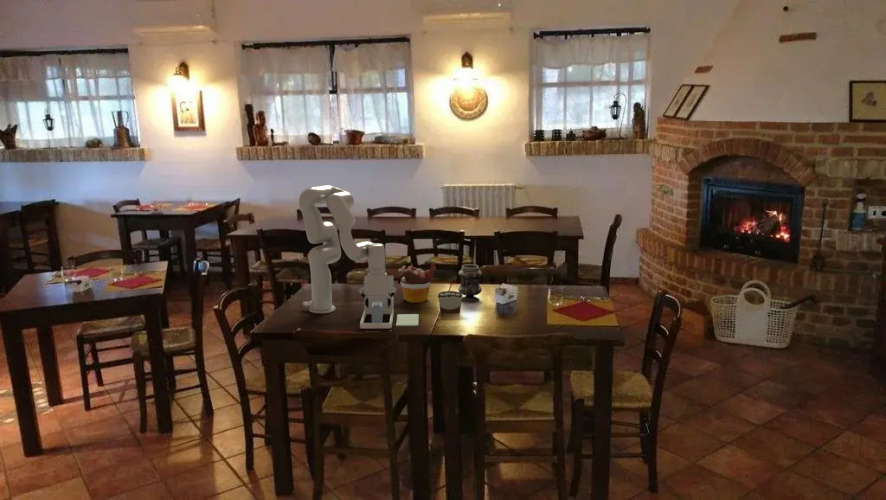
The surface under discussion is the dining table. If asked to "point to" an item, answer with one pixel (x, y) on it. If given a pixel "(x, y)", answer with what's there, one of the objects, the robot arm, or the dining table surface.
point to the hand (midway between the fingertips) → (378, 306)
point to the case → (385, 307)
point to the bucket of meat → (416, 283)
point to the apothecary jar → (470, 283)
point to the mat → (407, 320)
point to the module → (377, 312)
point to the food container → (450, 302)
